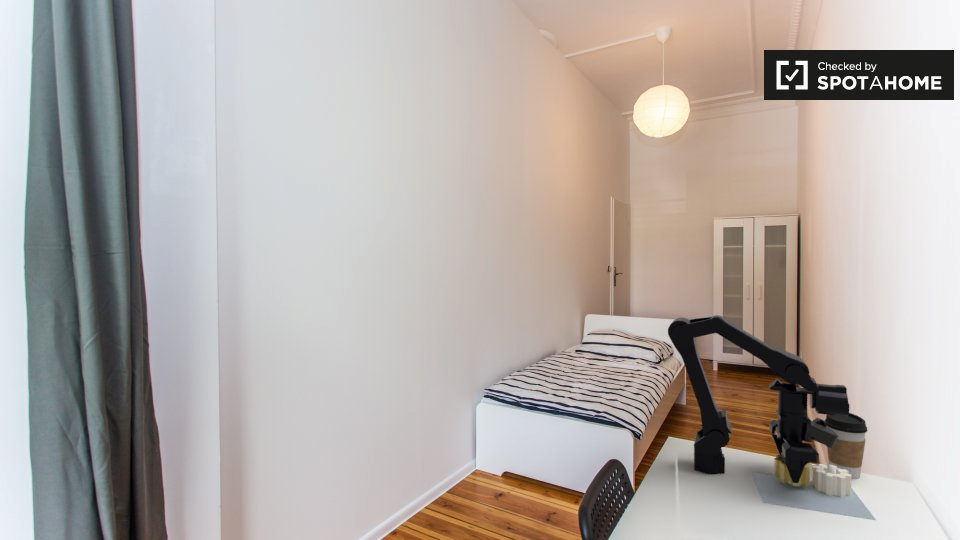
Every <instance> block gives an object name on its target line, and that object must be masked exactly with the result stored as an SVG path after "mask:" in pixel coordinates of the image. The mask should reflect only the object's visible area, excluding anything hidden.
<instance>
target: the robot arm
mask: <svg viewBox="0 0 960 540" xmlns="http://www.w3.org/2000/svg"><path fill="white" fill-rule="evenodd" d="M667 334H668V338H669V339H670V341H671V343H672V345H673V346H674V348H675V349H676V351H677V352H678V353H679V355H680V357H681V358H682V361H683V364H684V367H685V371H686V374H687V375H688V378H689V381H690V384H691V387H692V391H693V393H694V396H695V399H696V401H697V405H698V408H699V411H700V421H701V429H699V430H698V431H697V432H696V433H695V437H694V443H693V469H694V471H698V472H699V473H702V474H705V475H713V476H714V475H718V474H719V475H724V474H725V472H726V470H725V469H726V463H725V462H726V458H725V457H726V456H725V454H724V453H723V449H722V448H725V447H726V446H727V445H728V444H729V442H730V439H731V438H730V435H731V434H732V423H731V422H730V420H729V418H728V413H727V409H722V410H721V409H720V408H719V407H718V405H717V404H716V401H715V398H714V396H713V391H712V389H711V386H710V384H709V380H708V378H707V375H706V373H705V370H704V367H703V363H702V361H701V358H700V356H699V353H698V347H697V345H698V344H697V338H700V337H703V336H704V337H705V336H708V335H713V334H717V335H719V336H720V337H722V338H724V339H726V340H727V341H729V342H730V343H732V344H733V345H736V346H737V347H739V348H740V349H742V350H744V351H745V352H747V353H749V354H750V355H752V356H754V357H756V358H757V359H759V360H761V362H763V363H764V364H765V365H766V366H768V367H769V368H770V369H771V370H772V372H774V373H775V374H776V375H778V376H779V377H780V378H781V379H782V380H783V381H785V382H782V381H781V380H780V379H779V378H775V379H774V380H773V381H771V382H770V383H768V386H769V389H770V390H771V391H777V393H778V394H777V395H778V396H777V409H776V410H775V414H776V417H777V419H773V420H772V421H769V429H768V430H769V432H770V434H771V438H772V439H773V440H772V441H773V443H774V445H775V447H776V449H777V452H778V455H781V456H783V459H784V461H785V464H786V467H787V469H788V472H789V474H790V477H791V479H792V482H793V483H799V480H800V477H801V475H802V472H803V470H804V467H805V465H806V464H808V463H810V464H811V463H812V464H820V462H819V461H820V459H819V458H820V453H819V452H818V451H817V450H816V448H815V447H814V446H813V445H812V444H811V443H812V442H813V441H815V442H817V443H820V444H821V445H824V446H825V447H829V448H833V446H834V444H835V442H836V440H837V438H838V435H837V434H836V433H835V432H834V431H833V430H831V429H830V428H829V427H828V428H827V426H826V422H825V419H821V418H819V417H816V418H815V419H813V420H811V418H810V417H808V395H809V405H810V408H811V409H814V410H815V413H816V414H819V415H834V416H843V417H848V415H849V413H850V403H849V397H848V393H847V392H848V391H847V390H848V388H847V386H845V385H844V384H824V383H817V382H816V380H815V378H814V377H812V376H811V375H810V369H809V367H808V365H807V363H806V362H805V361H804V359H803V358H801V357H800V356H799V355H796V354H793V353H791V352H788V351H786V350H783V349H780V348H777V347H774V346H771V345H770V344H768V343H766V342H764V341H763V340H762V339H759V338H757V337H756V336H754V335H753V334H751V333H750V332H747V331H746V330H743V329H742V328H740V327H739V326H737V325H735V324H734V323H732V322H730V321H728V320H727V319H726V318H725V317H723V316H722V315H718V314H716V315H712V316H706V317H699V318H698V317H697V318H693V319H692V318H691V319H688V318H687V317H677V318H676V319H675V318H674V320H673V321H672V322H671V323H670V325H669V327H668V328H667ZM797 385H798V386H797ZM799 386H800V387H799Z"/></svg>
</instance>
